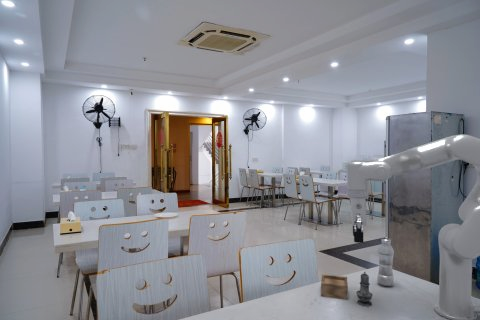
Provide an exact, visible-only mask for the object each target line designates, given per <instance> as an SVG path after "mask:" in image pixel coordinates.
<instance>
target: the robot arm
mask: <svg viewBox="0 0 480 320" xmlns="http://www.w3.org/2000/svg"><path fill="white" fill-rule="evenodd" d="M457 160H458V161H459V160H461V161H463V162H466V163H468V164H470V165H473V167H474V168H475V169H474V170H475V171H476V174H477V178H476V179H477V180H476V182H475V185H474V186H473V188H472V189H471V190H470V192H469V194H468V195H467V197H466V198H465V199H464V201H463V202H462V203H461V205H460V207H459V209H458V212H457V213H458V216H459V219H460V220H461V221H462V223H461V224H460V223H459V224H458V223H447V224H445V225H444V226H442V227H441V229H440V230H439V232H438V240H437V241H438V248H439V249H438V251H439V280H438V281H439V282H438V283H439V285H438V286H439V287H438V288H439V289H438V302H436V303H435V304H434V305H433V310H434V311H435V312H436V314H438V315H440V316H441V317H443V318H445V319H448V320H477V314H478V313H479V314H480V304H474V303H472V283H473V281H472V280H473V279H472V278H473V277H472V276H473V274H472V273H473V260H474V259H477V258H478V257H480V138H478V137H475V136H473V135H470V134H466V133H465V134H463V133H462V134H455V135H450V136H447V137H444V138H443V137H442V138H441V139H437V140H435V141H434V140H433V141H431V142H428V143H425V144H422V145H419V146H415V147H412V148H409V149H406V150H405V151H401V152H398V153H395V154H391V155H389V156H386V157H382V158H379V159H376V160H374V161H368V162H367V161H361V160H360V161H349V162H348V163H347V166H346V167H347V170H346V171H347V172H346V173H347V174H346V177H347V179H346V181H347V182H346V184H347V185H346V186H347V187H346V189H347V191H346V192H347V196H346V197H347V198H348V199H350V215H351V217H350V218H351V222H352V236H353V242H354V243H360V244H362V243H364V228H363V227H365V226H367V203H366V202H367V201H366V200H367V199H369V181H373V182H381V183H382V182H385V181H387V180H389V179H390V178H391V176H395V175H398V174H401V173H407V172H417V171H425V170H427V169H430V168H434V167H437V166H440V165H443V164H447V163H450V162H454V161H457ZM363 225H364V226H363Z"/></svg>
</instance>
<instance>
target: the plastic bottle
mask: <svg viewBox="0 0 480 320" xmlns="http://www.w3.org/2000/svg"><path fill="white" fill-rule="evenodd" d="M380 241H381V244H380V245H379V247H378V250H377V252H378V253H377V254H378V273H377V282H378V284H379V285H380V286H383V287H391V286H393V284H394V282H395V281H394V273H393V272H394V271H393V261H394V255H395V251H394V248H393V246H392V245H391V244H392V242H391V241H392V239H391V238H388V237H381V240H380Z"/></svg>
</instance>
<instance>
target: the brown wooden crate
mask: <svg viewBox="0 0 480 320" xmlns="http://www.w3.org/2000/svg"><path fill="white" fill-rule="evenodd" d="M348 287H349V286H348V277H347V276H340V275H332V274H326V273H325V274H322V275H321V282H320V297H324V298H325V297H326V298H333V299H340V300H345V301H346V300H348V299H349V298H348V297H349V296H348V294H349V293H348V292H349V291H348V289H349V288H348Z"/></svg>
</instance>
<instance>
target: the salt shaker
mask: <svg viewBox="0 0 480 320" xmlns="http://www.w3.org/2000/svg"><path fill="white" fill-rule="evenodd" d="M369 279H370V276H369V274H367V272H366V271H364V272H363V273H362V274H361V275H360V282H359V284H360V285H359V286H360V287H359V290H357V291H356V296H357V299H358V300H357V301H356V303H357V305H360V306H361V307H362V306H363V307H371V306H372V305H373V304H372V302H371V301H372V298H373V296H374V294H373V292H370V285H371V283H369V282H370V280H369Z"/></svg>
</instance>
